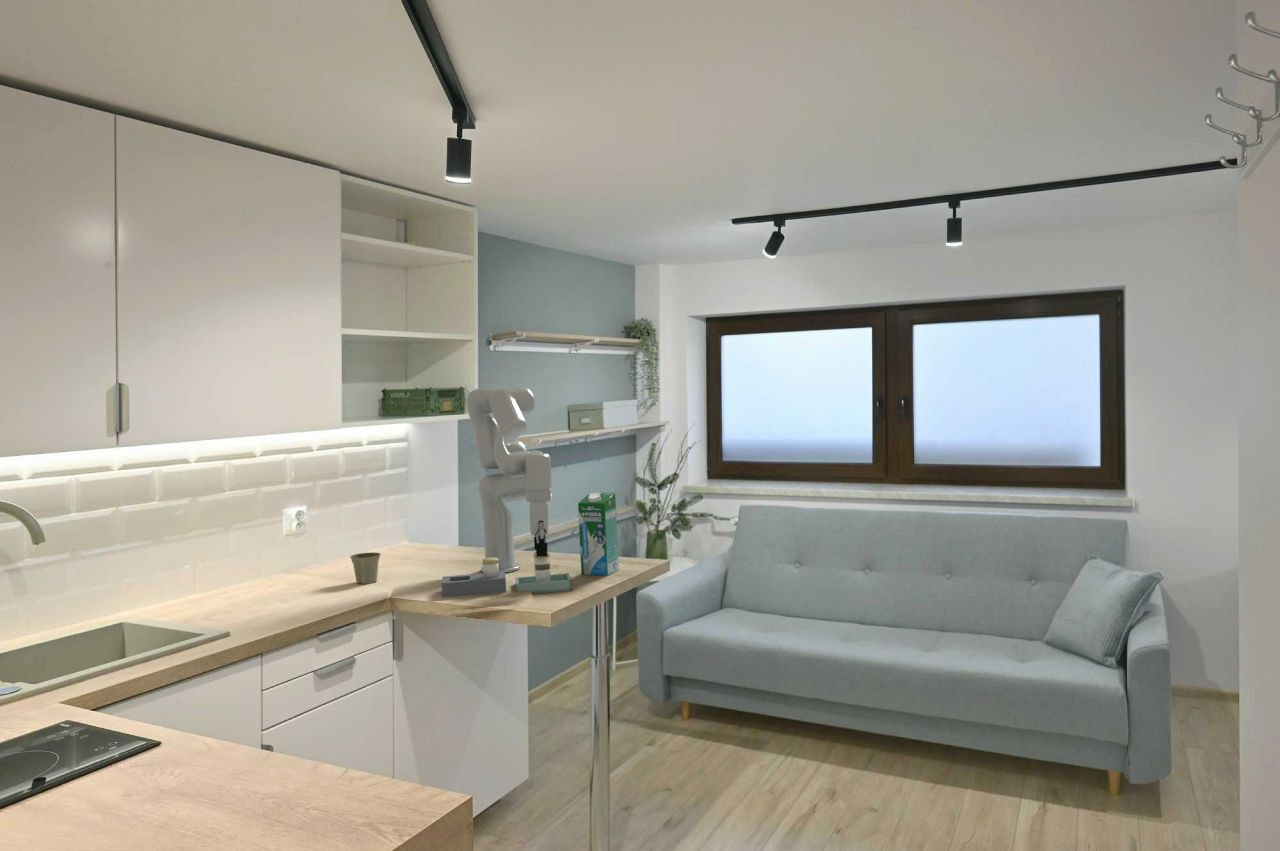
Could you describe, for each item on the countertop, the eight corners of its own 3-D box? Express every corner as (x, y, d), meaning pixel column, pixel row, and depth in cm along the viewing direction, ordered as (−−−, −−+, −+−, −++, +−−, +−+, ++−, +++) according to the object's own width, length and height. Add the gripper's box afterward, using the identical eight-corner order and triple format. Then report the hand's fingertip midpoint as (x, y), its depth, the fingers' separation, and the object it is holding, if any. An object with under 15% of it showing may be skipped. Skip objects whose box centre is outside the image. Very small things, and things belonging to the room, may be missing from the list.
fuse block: (443, 593, 261) (442, 559, 260) (505, 588, 264) (504, 555, 263) (442, 600, 252) (440, 565, 252) (506, 595, 255) (504, 561, 255)
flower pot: (388, 581, 282) (386, 554, 282) (361, 586, 275) (359, 559, 275) (372, 577, 288) (371, 551, 288) (345, 583, 281) (344, 556, 281)
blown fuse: (535, 585, 263) (533, 551, 263) (550, 583, 264) (548, 550, 264) (536, 588, 259) (534, 554, 258) (551, 587, 259) (550, 553, 259)
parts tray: (515, 587, 265) (515, 577, 265) (569, 583, 268) (568, 573, 268) (517, 594, 255) (516, 584, 255) (572, 590, 258) (571, 580, 258)
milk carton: (581, 574, 279) (577, 495, 278) (593, 568, 287) (589, 492, 286) (607, 575, 275) (603, 495, 274) (618, 569, 284) (615, 492, 283)
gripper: (524, 491, 268) (526, 547, 269) (527, 500, 251) (529, 560, 252) (549, 490, 269) (551, 546, 271) (554, 499, 252) (556, 558, 254)
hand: (541, 552), depth 262 cm, fingers open, 9 cm apart
